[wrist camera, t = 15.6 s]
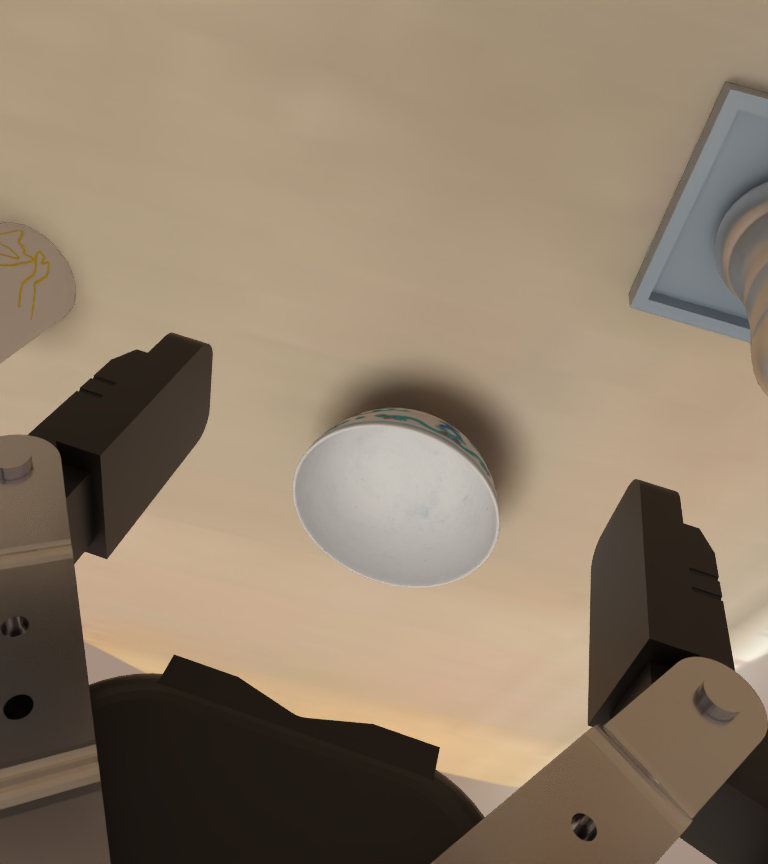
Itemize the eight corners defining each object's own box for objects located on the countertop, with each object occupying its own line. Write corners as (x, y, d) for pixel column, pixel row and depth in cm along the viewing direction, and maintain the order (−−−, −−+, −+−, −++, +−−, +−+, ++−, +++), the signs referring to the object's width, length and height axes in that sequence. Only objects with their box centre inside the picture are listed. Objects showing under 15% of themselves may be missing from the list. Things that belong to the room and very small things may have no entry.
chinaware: (328, 504, 63) (298, 567, 57) (321, 354, 54) (284, 409, 48) (500, 534, 60) (488, 604, 54) (522, 380, 51) (511, 443, 45)
